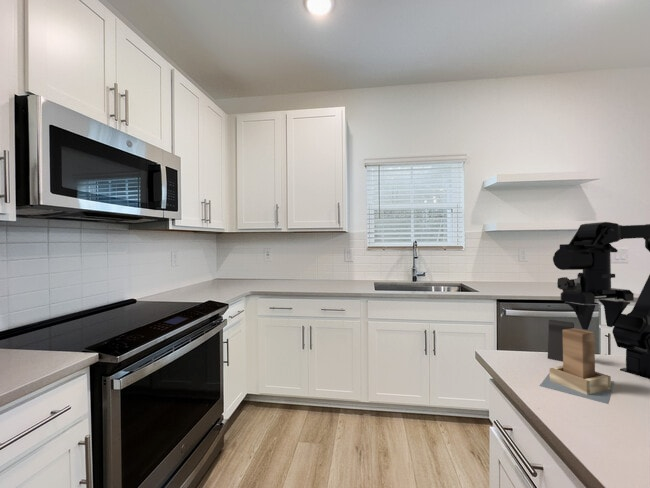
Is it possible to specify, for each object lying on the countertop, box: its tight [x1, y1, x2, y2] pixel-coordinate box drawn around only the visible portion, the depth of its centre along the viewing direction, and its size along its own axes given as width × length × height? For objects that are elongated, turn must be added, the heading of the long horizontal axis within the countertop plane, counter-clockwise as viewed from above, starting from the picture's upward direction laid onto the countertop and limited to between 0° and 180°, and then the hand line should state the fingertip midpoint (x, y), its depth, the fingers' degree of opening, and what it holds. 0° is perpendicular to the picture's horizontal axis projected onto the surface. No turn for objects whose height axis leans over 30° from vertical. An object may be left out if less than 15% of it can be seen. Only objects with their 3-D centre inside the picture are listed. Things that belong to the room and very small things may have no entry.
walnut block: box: [562, 327, 596, 379], centre depth 76 cm, size 4×4×13 cm
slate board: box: [538, 372, 615, 405], centre depth 76 cm, size 16×12×1 cm
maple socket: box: [549, 365, 612, 395], centre depth 76 cm, size 8×8×3 cm
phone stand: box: [547, 319, 575, 363], centre depth 95 cm, size 9×6×12 cm, turn 136°
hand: (597, 328), depth 83 cm, fingers open, 9 cm apart
